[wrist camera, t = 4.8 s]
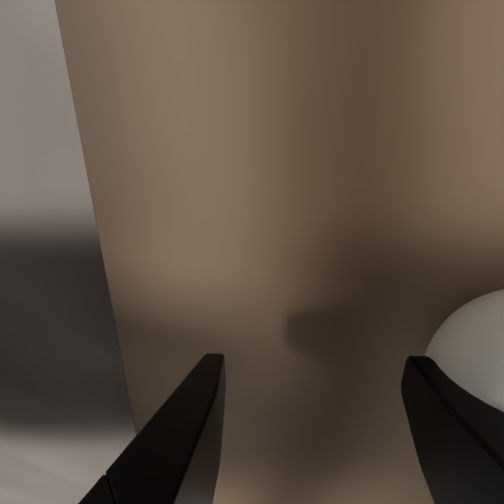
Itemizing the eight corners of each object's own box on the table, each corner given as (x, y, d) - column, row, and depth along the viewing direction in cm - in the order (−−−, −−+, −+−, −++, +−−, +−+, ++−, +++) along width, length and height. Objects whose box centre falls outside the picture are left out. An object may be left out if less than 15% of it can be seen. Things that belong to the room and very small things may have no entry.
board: (167, 442, 16) (149, 503, 14) (102, -26, 9) (43, -55, 7) (623, 466, 15) (685, 537, 13) (937, -39, 8) (1190, -80, 6)
